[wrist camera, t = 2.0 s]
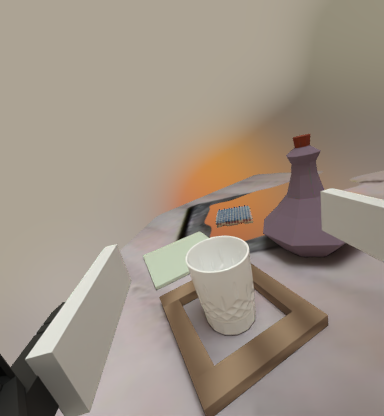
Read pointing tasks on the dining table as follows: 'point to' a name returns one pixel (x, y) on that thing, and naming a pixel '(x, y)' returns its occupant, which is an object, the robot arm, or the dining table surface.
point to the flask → (301, 207)
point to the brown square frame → (249, 353)
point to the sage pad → (171, 260)
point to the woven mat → (234, 216)
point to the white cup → (223, 282)
